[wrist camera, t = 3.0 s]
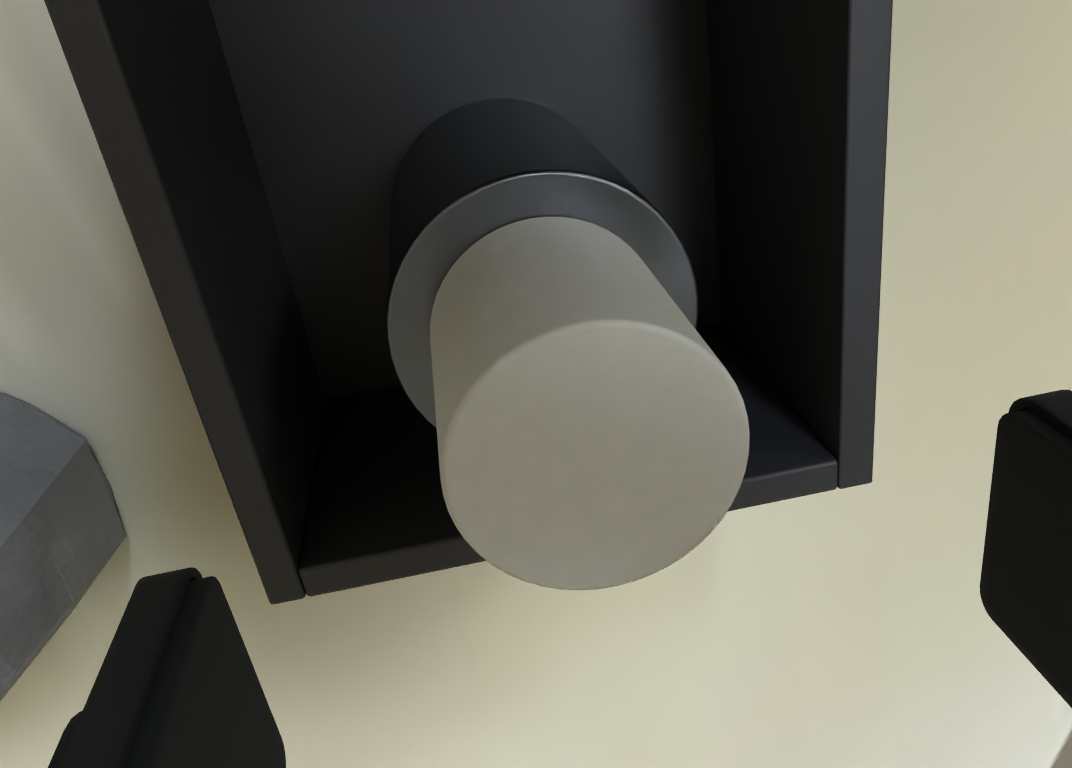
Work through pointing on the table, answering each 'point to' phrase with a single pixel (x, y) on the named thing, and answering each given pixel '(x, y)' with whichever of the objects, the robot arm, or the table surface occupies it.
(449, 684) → the table surface
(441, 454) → the cylinder
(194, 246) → the coffee maker
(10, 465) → the coffeepot
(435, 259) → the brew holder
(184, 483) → the table surface
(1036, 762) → the table surface
